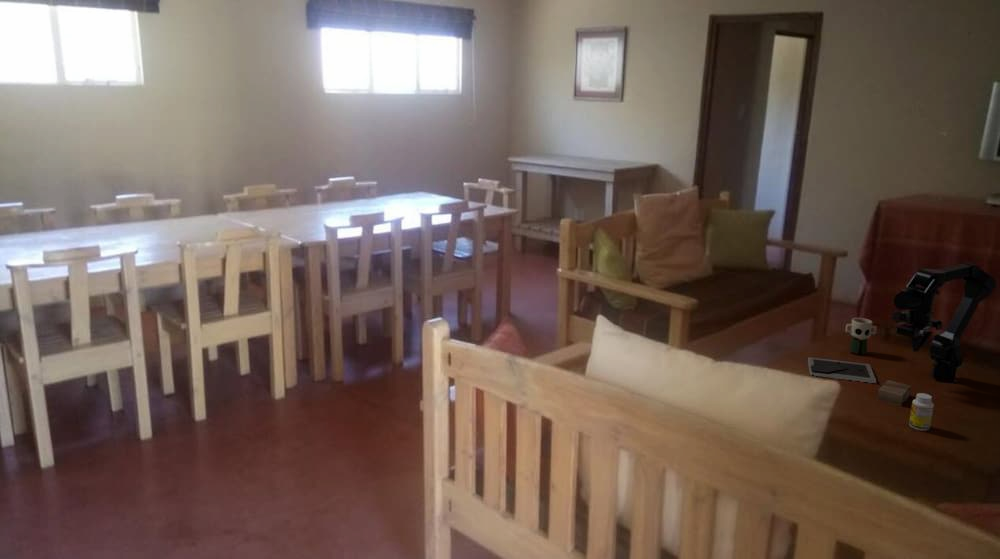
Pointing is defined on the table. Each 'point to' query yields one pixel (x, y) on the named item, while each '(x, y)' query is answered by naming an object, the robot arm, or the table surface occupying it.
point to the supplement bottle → (921, 412)
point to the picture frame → (841, 370)
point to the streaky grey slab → (894, 392)
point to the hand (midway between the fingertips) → (915, 351)
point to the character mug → (860, 334)
